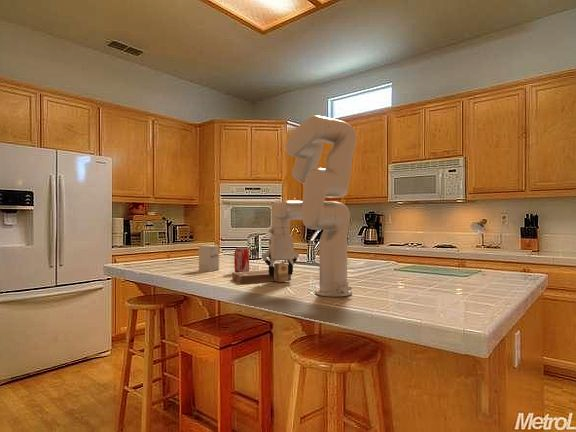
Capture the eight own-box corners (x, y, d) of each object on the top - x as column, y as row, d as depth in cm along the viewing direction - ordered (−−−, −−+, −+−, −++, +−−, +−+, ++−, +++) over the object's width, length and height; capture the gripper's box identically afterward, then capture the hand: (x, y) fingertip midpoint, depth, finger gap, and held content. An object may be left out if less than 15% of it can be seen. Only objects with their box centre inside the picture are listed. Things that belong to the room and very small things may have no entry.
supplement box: (210, 271, 182) (210, 246, 182) (198, 271, 185) (198, 245, 185) (219, 270, 189) (219, 245, 189) (207, 269, 192) (207, 244, 192)
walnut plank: (290, 279, 157) (290, 272, 157) (241, 283, 147) (241, 276, 147) (279, 275, 168) (279, 269, 168) (232, 279, 158) (232, 272, 158)
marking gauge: (289, 281, 149) (289, 264, 150) (280, 282, 148) (280, 264, 148) (275, 276, 162) (275, 260, 162) (267, 277, 160) (267, 261, 160)
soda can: (231, 273, 176) (231, 248, 176) (238, 271, 182) (238, 247, 182) (245, 274, 173) (245, 248, 174) (251, 272, 180) (251, 247, 180)
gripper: (264, 232, 145) (264, 277, 145) (303, 231, 152) (303, 274, 152) (257, 232, 152) (257, 275, 151) (295, 231, 159) (295, 272, 159)
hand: (280, 274), depth 152 cm, fingers open, 7 cm apart
